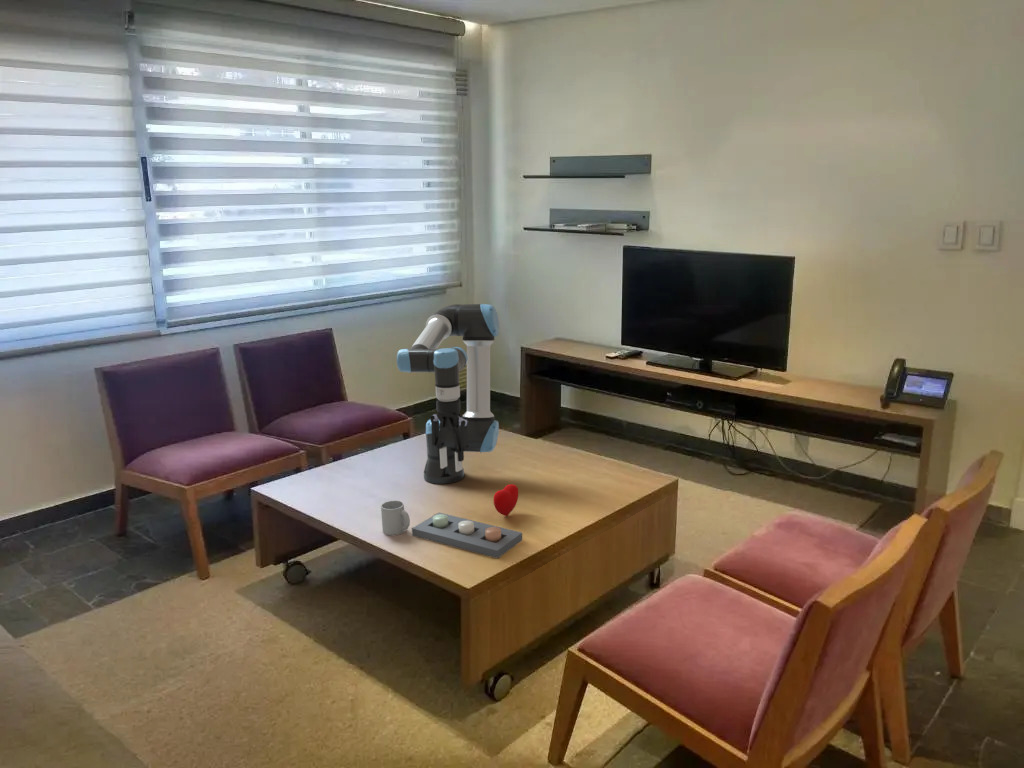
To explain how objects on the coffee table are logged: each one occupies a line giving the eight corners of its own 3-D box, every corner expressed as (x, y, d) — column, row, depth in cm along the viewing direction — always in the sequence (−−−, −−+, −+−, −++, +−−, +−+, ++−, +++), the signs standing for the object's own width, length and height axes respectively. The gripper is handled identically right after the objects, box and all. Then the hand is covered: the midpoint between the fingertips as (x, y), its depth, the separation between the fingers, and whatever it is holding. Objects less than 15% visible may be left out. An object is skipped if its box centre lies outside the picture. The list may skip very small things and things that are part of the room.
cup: (392, 524, 258) (390, 498, 256) (417, 530, 253) (415, 504, 251) (378, 533, 252) (376, 506, 250) (402, 539, 247) (401, 512, 245)
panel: (412, 535, 250) (411, 528, 249) (439, 519, 261) (438, 512, 261) (497, 558, 233) (497, 550, 233) (522, 540, 245) (522, 532, 244)
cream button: (455, 533, 246) (455, 525, 245) (464, 528, 250) (464, 519, 249) (468, 537, 244) (468, 528, 243) (477, 531, 248) (476, 522, 247)
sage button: (430, 527, 251) (429, 518, 251) (439, 521, 255) (438, 513, 254) (442, 530, 249) (441, 521, 248) (451, 524, 253) (450, 516, 252)
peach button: (482, 540, 241) (482, 531, 240) (491, 534, 245) (490, 525, 244) (495, 544, 238) (495, 534, 238) (504, 538, 242) (504, 528, 242)
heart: (504, 524, 256) (503, 495, 254) (490, 520, 259) (489, 492, 257) (522, 511, 266) (522, 483, 263) (509, 508, 269) (508, 480, 266)
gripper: (417, 397, 249) (421, 467, 255) (465, 405, 240) (468, 477, 246) (432, 392, 256) (435, 460, 261) (479, 399, 246) (481, 469, 252)
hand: (451, 468), depth 253 cm, fingers open, 5 cm apart
